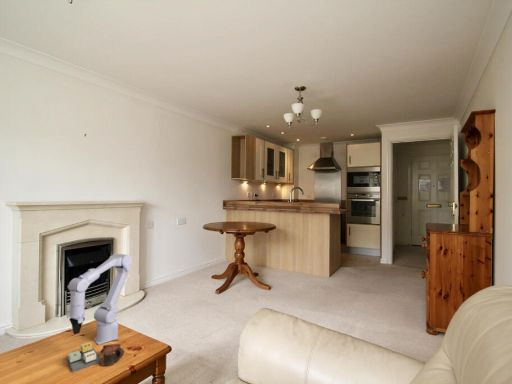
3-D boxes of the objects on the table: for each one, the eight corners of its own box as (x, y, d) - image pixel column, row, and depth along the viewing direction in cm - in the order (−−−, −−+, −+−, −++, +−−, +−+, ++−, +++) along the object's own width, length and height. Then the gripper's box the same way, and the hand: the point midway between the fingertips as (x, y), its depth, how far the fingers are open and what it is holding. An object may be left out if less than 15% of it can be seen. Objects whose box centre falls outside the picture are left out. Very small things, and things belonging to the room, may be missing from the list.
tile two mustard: (90, 346, 133) (90, 341, 133) (92, 349, 130) (92, 344, 130) (80, 349, 130) (80, 343, 131) (82, 352, 128) (82, 347, 128)
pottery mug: (92, 367, 122) (96, 346, 126) (108, 366, 130) (111, 346, 134) (116, 364, 120) (118, 342, 124) (130, 363, 128) (132, 342, 132)
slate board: (93, 350, 135) (93, 347, 135) (101, 361, 125) (101, 358, 125) (65, 359, 127) (65, 356, 127) (71, 372, 117) (71, 369, 117)
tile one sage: (78, 355, 127) (78, 349, 127) (80, 359, 124) (80, 353, 124) (68, 358, 124) (68, 353, 124) (70, 362, 121) (70, 357, 121)
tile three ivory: (93, 355, 127) (93, 349, 127) (96, 359, 124) (96, 353, 124) (83, 358, 124) (83, 353, 124) (85, 362, 122) (86, 357, 122)
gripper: (64, 301, 133) (63, 330, 133) (70, 311, 123) (69, 342, 123) (81, 298, 138) (80, 325, 138) (89, 307, 128) (88, 336, 128)
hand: (76, 333), depth 131 cm, fingers closed
